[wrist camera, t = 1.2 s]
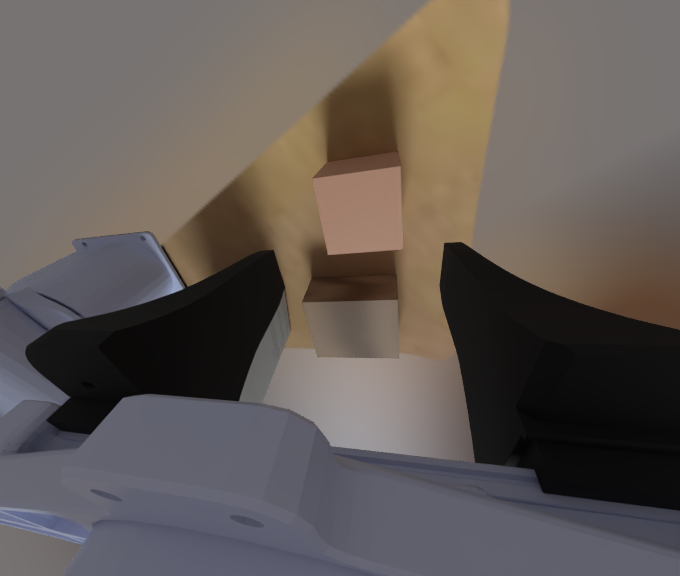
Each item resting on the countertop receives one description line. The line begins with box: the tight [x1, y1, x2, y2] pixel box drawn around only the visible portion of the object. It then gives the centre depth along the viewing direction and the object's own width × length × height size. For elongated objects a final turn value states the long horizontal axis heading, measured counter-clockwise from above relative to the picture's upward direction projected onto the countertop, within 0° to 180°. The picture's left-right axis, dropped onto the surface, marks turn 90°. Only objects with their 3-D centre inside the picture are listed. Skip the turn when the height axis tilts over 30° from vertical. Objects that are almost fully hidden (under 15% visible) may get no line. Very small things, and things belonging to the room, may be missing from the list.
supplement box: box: [239, 290, 290, 403], centre depth 23 cm, size 7×7×13 cm
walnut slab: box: [302, 275, 399, 358], centre depth 25 cm, size 8×7×4 cm
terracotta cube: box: [312, 151, 403, 255], centre depth 18 cm, size 5×5×5 cm
